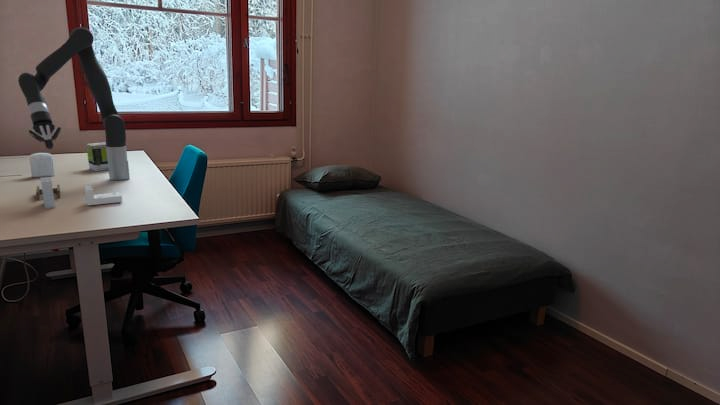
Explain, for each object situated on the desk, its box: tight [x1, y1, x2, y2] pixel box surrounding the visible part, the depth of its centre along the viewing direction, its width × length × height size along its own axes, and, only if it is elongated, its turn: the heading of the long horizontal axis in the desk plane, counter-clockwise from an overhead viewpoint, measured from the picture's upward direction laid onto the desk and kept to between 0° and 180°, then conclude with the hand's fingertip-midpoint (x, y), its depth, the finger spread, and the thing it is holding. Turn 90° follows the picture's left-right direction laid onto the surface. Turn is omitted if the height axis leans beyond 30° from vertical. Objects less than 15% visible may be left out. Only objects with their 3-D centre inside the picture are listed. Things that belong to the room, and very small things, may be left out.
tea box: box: [85, 141, 109, 172], centre depth 276 cm, size 15×10×15 cm, turn 135°
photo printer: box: [29, 152, 56, 178], centre depth 253 cm, size 10×4×12 cm, turn 123°
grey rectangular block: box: [39, 176, 56, 210], centre depth 200 cm, size 4×10×11 cm, turn 35°
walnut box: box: [35, 184, 61, 201], centre depth 216 cm, size 9×14×4 cm, turn 31°
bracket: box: [84, 185, 123, 206], centre depth 206 cm, size 13×7×8 cm, turn 123°
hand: (50, 148), depth 216 cm, fingers closed
